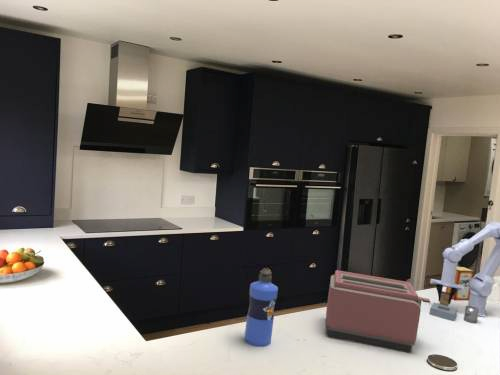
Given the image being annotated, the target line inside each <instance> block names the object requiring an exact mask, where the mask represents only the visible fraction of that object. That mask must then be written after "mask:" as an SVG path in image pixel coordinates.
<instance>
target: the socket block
mask: <svg viewBox="0 0 500 375" xmlns="http://www.w3.org/2000/svg"><path fill="white" fill-rule="evenodd" d="M457 313H458V308H456V307H452V306H450V305H449V306H445V305H442V304H440V303H437V302H433V303H432V305H431V306H430V308H429V315H430V316H433V317H437V318H441V319H444V320H448V321H452V322H454V321H455V319H456V316H457Z"/></svg>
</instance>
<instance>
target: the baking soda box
mask: <svg viewBox="0 0 500 375" xmlns="http://www.w3.org/2000/svg"><path fill="white" fill-rule="evenodd" d="M474 273H475V270H472V269H470V268H467V267H465V266H457V270H456V276H455V282H454V284H457V285H461V286H464V287H465V288H464V291H461V290H457V292H456V293H455V294H454V296H453V297H452V300H453V301H469V296H470V288H469V286H468V283H469V281H470V280H471V279H472V278H473V277H474V275H475V274H474ZM445 288H446V289H445V292H448V293H450V290H451V288H449V287H445Z"/></svg>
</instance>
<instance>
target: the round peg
mask: <svg viewBox="0 0 500 375" xmlns="http://www.w3.org/2000/svg"><path fill="white" fill-rule="evenodd" d="M478 312H479V309H478V308H476V307H473V306H468V305H465V309H464V316H463V320H464V321H465V322H466V323H469V324H477V323H478V318H479V316H478Z"/></svg>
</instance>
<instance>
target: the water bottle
mask: <svg viewBox="0 0 500 375" xmlns="http://www.w3.org/2000/svg"><path fill="white" fill-rule="evenodd" d="M272 274H273V272H272V271H271V269H269V268H268V267H267V268H266V267H265V268H263V269H262V270H260V271H259V275H258V280H257V281H254V282H251V283H250V286H249V294H248V295H249V307H248V311H247V315H246V321H245V324H246V325H245V331H244V341H245V343H247V344H248V345H250V346H252V347H253V346H254V347H262V348H263V347H268V346H270V345H271V343H272V335H273V334H272V333H273V327H274V321H275V320H274V319H275V318H274V315H275V314H274V312H275V311H274V309H275V304H276V301H277V298H278V290H279V287H278V286H277V285H275V284H273V283H272V278H273V277H272Z"/></svg>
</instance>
